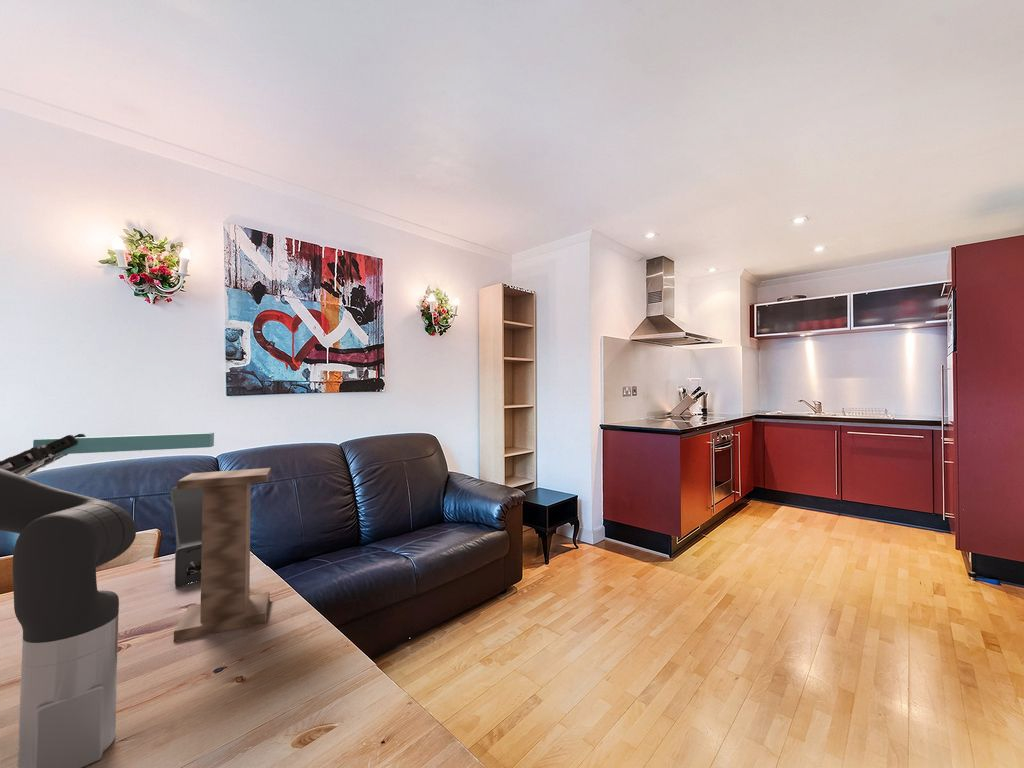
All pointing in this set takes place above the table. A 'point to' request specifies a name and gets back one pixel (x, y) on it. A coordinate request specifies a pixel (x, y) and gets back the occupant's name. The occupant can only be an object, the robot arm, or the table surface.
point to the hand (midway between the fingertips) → (79, 438)
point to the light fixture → (187, 534)
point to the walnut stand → (224, 555)
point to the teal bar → (134, 442)
